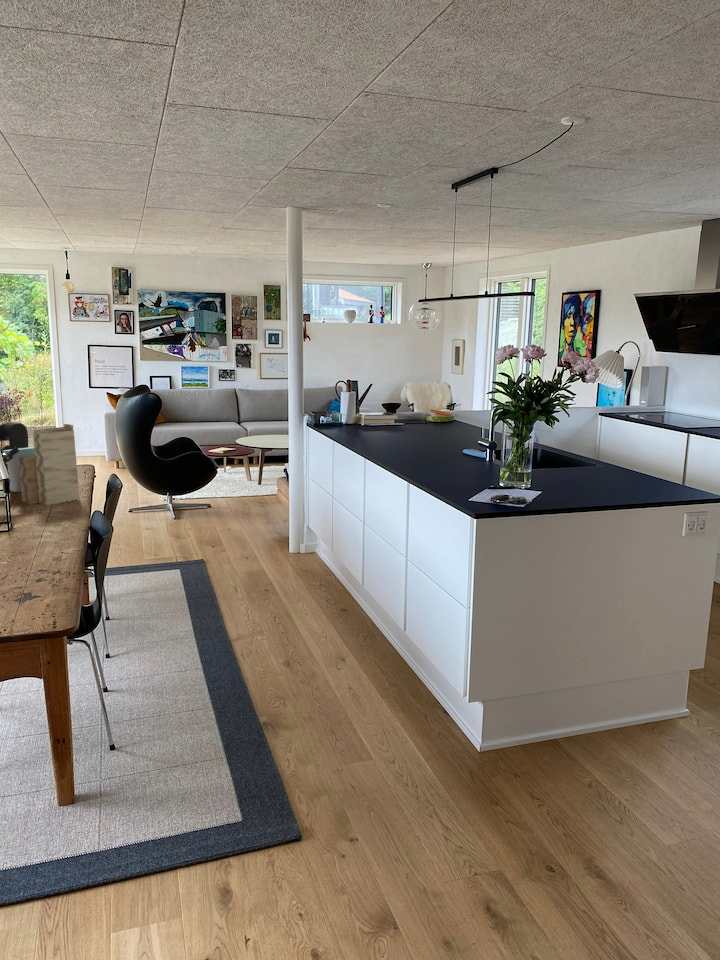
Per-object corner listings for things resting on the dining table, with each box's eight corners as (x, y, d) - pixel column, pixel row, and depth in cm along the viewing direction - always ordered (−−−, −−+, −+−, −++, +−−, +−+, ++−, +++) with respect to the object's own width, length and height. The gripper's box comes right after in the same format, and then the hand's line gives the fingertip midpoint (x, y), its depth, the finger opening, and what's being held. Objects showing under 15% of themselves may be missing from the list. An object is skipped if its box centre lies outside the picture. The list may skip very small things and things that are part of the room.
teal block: (2, 458, 324) (2, 450, 323) (51, 452, 340) (50, 444, 339) (6, 459, 322) (5, 451, 321) (54, 453, 338) (54, 445, 337)
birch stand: (39, 502, 332) (32, 426, 325) (70, 496, 343) (64, 423, 336) (47, 505, 327) (40, 428, 320) (79, 499, 338) (73, 425, 331)
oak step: (22, 500, 335) (17, 455, 331) (51, 495, 345) (47, 451, 341) (30, 503, 330) (25, 457, 326) (60, 498, 340) (56, 453, 336)
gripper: (-17, 465, 310) (15, 442, 318) (-30, 461, 319) (1, 439, 328) (-6, 479, 314) (25, 456, 322) (-20, 474, 323) (11, 452, 332)
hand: (13, 447), depth 325 cm, fingers open, 8 cm apart
